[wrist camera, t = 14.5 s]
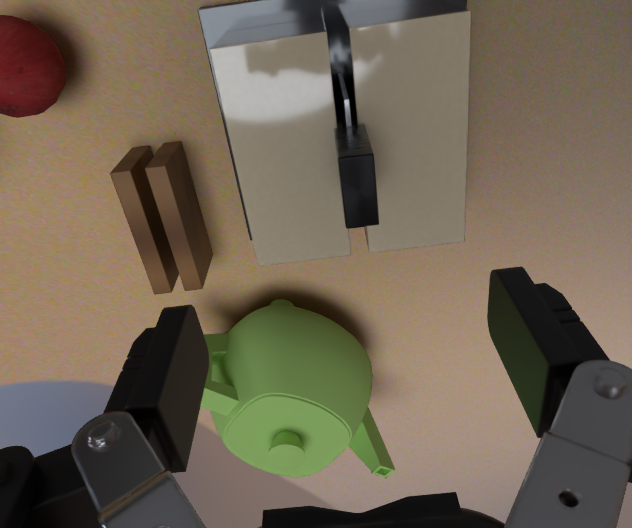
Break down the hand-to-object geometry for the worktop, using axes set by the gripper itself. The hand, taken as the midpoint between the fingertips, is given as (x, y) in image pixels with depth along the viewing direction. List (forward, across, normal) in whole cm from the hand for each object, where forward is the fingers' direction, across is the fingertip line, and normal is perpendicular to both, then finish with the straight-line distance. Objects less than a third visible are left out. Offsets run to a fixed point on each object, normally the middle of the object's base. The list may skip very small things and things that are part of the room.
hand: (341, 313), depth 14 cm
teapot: (+26, +6, +24) cm, 36 cm away
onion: (+26, +19, -4) cm, 32 cm away
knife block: (+26, +13, +8) cm, 30 cm away
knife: (+25, -2, +3) cm, 25 cm away
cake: (+26, -1, +3) cm, 26 cm away
